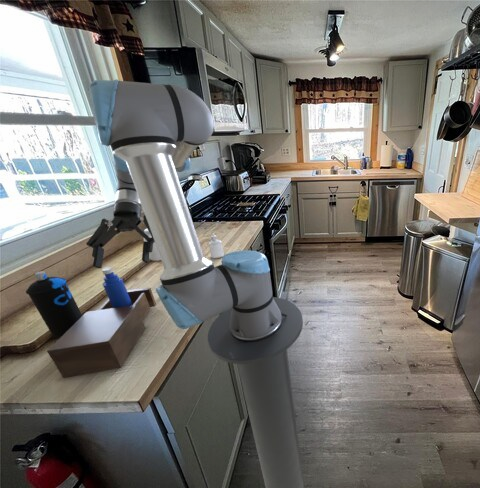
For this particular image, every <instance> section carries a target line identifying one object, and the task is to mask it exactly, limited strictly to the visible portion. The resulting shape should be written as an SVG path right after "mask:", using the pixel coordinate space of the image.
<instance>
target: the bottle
mask: <svg viewBox="0 0 480 488" xmlns="http://www.w3.org/2000/svg"><path fill="white" fill-rule="evenodd" d="M101 272H102V274H103V275H104V277H103V282H102V286H103V289H104V292H105V293H106V295H107V298H108V299H109V300H110V302H111V305H112V307H113V308H117V307H124V306H131V305H132V302H131V300H130V297H129V295H128V292H127V288H126V284H125V282H124V280H123V278H122V277H120V276H119V275H118V274H117V273H114V268H113V266H107V267H103V268H101Z"/></svg>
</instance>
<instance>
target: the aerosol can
mask: <svg viewBox="0 0 480 488" xmlns="http://www.w3.org/2000/svg"><path fill="white" fill-rule="evenodd" d="M34 276H35V278H36V280H35V281H34V282H32V283H31V284H29V286H28V288H27V289H26V291H25V294H27V295H28V296H29V298H30V300H31V302H32V303H33V305H34V306H35V309H36V310H37V311H38V313H39V315H40V317H41V319H42V320H43V322H44V323H45V325H46V327H47V328H48V330H49V332H50V335H51V336H50V337H51V338H53V339H60V338H61V337H62V336H63V335H64V334H65V333H66V332H67V331H68V330H69V329H70V328H71V327H72V326H73V325H74V324H75V323H76V322H77V321H78V320H79V319H80V318H81V317H82V316H83V314H82V312H81V309H80V308H79V306H78V304H77V302H76V300H75V298H74V296H73V294H72V292H71V290H70V288H69V286H68V284H67V279H66V278H63V277H60V276H48V275H47V274H46V272H45V271H44V270H42V271H41V270H40V271H37V272H35V273H34Z"/></svg>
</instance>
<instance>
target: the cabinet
mask: <svg viewBox="0 0 480 488" xmlns="http://www.w3.org/2000/svg"><path fill="white" fill-rule="evenodd" d="M145 330H146V326H145V323H144V321H142V318H141V316H140V313H139V311H138V308H137V306H136V305H131V306H124V307H117V308H110V309H103V310H98V309H97V310H89V311H85V313H83V314H82V317H81V318H80V319H79V320H78V321H77V322H76V323H75V324H74V325H73V326H72V327H71V328H70V329H69V330H68V331H67V332H66V333H65V334H64V335H63V336H62V337H61V338H58V339H57V340H56V341H55V342H54V343H53V344H52V345H51V346H50V347H49V348H48V349H47V350H46V352H47V354H48V355H49V357H50V359H51V361H52V362H53V364H54V365H55V367H56V368H57V370H58V372H59V373H60V375H61V377H62V379H63V378H64V379H65V378H71V377H76V376H82V375H88V374H93V373H98V372H105V371H111V370H115V369H121V368H123V365H124V364H125V362H126V361H127V360H128V357H129V356H130V354H131V353H132V352H133V350H134V347H135V346H136V345H137V343H138V341H139V340H140V338H141V337H142V335H143V333H144V331H145Z"/></svg>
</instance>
